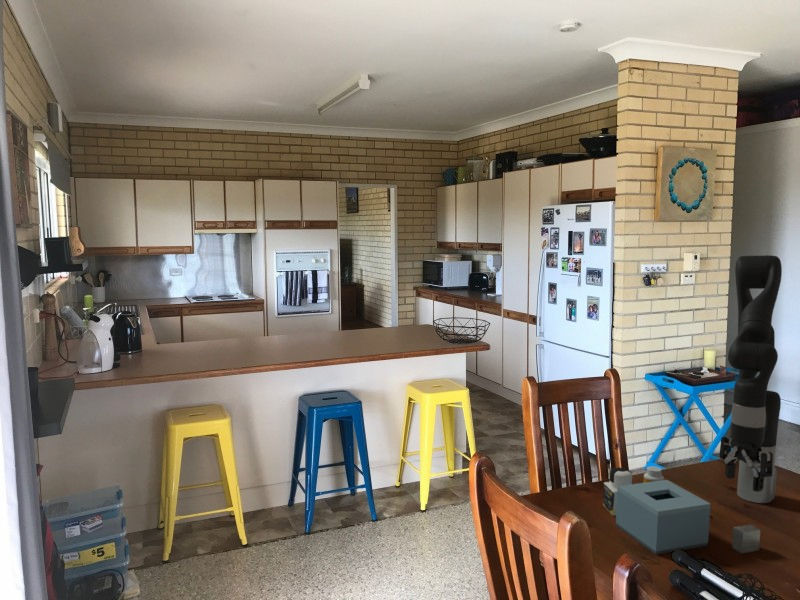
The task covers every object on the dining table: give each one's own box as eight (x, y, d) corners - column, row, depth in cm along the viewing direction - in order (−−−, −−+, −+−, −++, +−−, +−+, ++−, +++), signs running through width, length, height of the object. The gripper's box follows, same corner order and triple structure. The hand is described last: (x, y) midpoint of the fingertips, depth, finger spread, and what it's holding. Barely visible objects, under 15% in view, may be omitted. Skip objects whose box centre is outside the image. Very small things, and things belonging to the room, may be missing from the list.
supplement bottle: (655, 507, 183) (656, 473, 182) (638, 500, 188) (640, 467, 187) (666, 503, 186) (668, 469, 185) (650, 496, 191) (651, 463, 190)
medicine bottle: (602, 505, 184) (604, 465, 183) (625, 504, 185) (627, 465, 184) (612, 516, 177) (614, 475, 176) (636, 515, 178) (639, 474, 177)
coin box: (664, 518, 176) (666, 479, 175) (707, 545, 161) (710, 503, 160) (615, 525, 172) (617, 486, 170) (655, 554, 156) (658, 511, 155)
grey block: (749, 544, 162) (750, 524, 161) (758, 550, 159) (760, 529, 158) (732, 547, 160) (733, 527, 160) (741, 553, 157) (743, 532, 157)
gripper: (784, 429, 151) (779, 494, 153) (737, 412, 165) (733, 472, 166) (759, 431, 149) (754, 497, 151) (713, 414, 163) (709, 475, 164)
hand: (743, 484), depth 159 cm, fingers open, 8 cm apart
